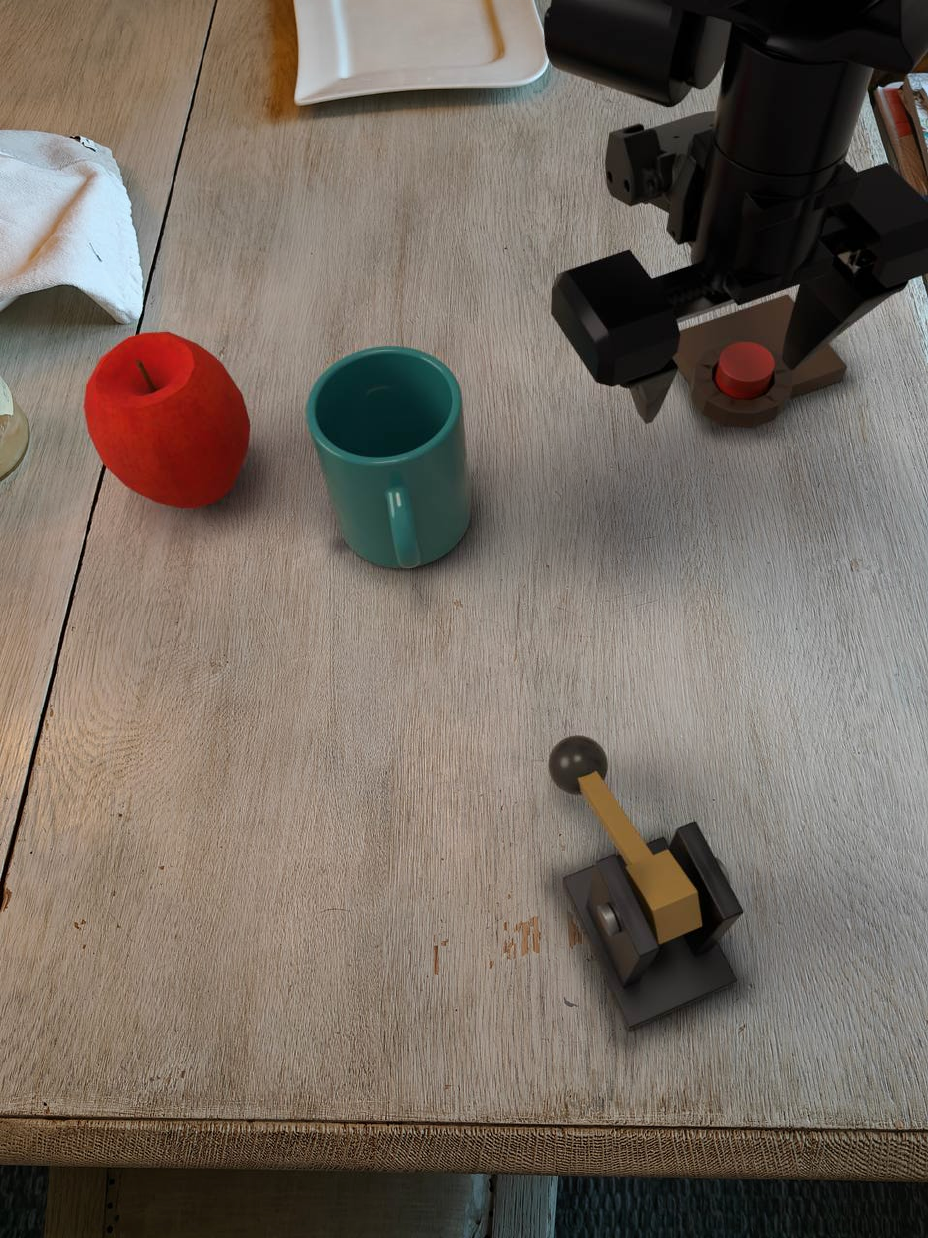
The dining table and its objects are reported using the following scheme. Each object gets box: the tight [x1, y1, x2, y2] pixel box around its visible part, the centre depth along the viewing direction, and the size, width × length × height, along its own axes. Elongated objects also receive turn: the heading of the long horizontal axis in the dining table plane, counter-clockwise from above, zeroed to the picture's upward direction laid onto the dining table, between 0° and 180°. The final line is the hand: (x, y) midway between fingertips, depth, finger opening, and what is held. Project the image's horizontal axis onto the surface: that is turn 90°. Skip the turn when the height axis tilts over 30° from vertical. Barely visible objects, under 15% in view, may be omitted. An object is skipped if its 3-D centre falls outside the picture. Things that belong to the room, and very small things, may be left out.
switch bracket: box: [562, 820, 744, 1032], centre depth 46 cm, size 8×6×10 cm
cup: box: [305, 345, 473, 569], centre depth 59 cm, size 9×12×11 cm
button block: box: [672, 293, 848, 430], centre depth 67 cm, size 11×10×3 cm
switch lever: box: [548, 734, 702, 944], centre depth 48 cm, size 13×3×3 cm, turn 21°
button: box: [716, 342, 775, 399], centre depth 64 cm, size 4×4×2 cm
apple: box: [83, 331, 252, 509], centre depth 62 cm, size 10×10×12 cm
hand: (717, 390), depth 54 cm, fingers open, 9 cm apart
